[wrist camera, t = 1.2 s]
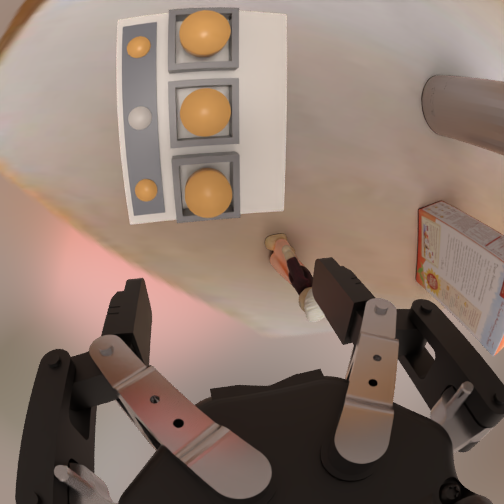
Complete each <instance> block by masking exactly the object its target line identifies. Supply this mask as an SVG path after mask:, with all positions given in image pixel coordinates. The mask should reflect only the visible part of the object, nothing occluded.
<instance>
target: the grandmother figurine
mask: <svg viewBox="0 0 504 504" xmlns="http://www.w3.org/2000/svg"><path fill="white" fill-rule="evenodd" d="M265 245H266V248H267V249H269V250H273V251H274V253H273V254H272V255H271V257H270V263H271V264H272V266H273V267H274V268H275V269H276V271H277V272H278V273H279V274H280V275H281V276H283V277H284V278H285V279H286V280H287V281H288V282H289V283H290V284H291V285H292V286H293V287H294V288H295V289H296V291H297V293H298V294H299V305H300V307H301V309H302V310H303V311H304V312H305V314H306V318H307V320H308V321H310V322H317V321H319V320H321V319H323V318H324V317H325V315H324V314H323V312H322V310H321V309H320V307H319V306H318V304H317V302H316V301H315V299H314V297H313V293H312V283H313V277H312V275H311V273H310V271H309V270H308V269H307V268H306V267H305V266H304V265H303V264H302V263H301V262H300V261H299V260H298V259H297V257H296V255H295V250H294V249H293V247H291V246H290V245H289V243H288V242H287V238H286V235H285V234H276V235H271V236H269V237H267V238H266V240H265Z"/></svg>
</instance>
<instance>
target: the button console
mask: <svg viewBox="0 0 504 504" xmlns="http://www.w3.org/2000/svg"><path fill="white" fill-rule="evenodd" d="M202 10H210V11H215V12H217V13H219V14H221V15H223V16H224V17H225V18H226V19H227V21H228V22H229V25H230V29H231V32H230V37H229V39H228V41H227V43H226V44H225V46H224V47H223V49H222V50H221V51H219V52H218V53H217V54H215V55H213V56H209V57H195V56H192V55H190V54H189V53H187V52H186V51H185V50H184V49H183V47H182V46H181V43H180V36H179V31H180V26H181V24H182V22H183V21H184V20H185V19H186V18H187V17H188V16H189V15H191V14H193V13H195V12H198V11H202ZM116 83H117V111H118V127H119V140H120V151H121V161H122V170H123V178H124V186H125V194H126V201H127V207H128V214H129V220H130V225H132V224H141V223H150V222H159V221H169V220H177V223H184V222H194V221H205V220H216V219H228V218H240V214H247V213H261V212H275V211H284V192H285V162H286V120H287V14H279V13H268V12H255V11H239V8H188V9H174V10H169V13H161V14H153V15H145V16H138V17H132V18H126V19H121V20H118V24H117V51H116ZM202 88H210V89H215V90H217V91H219V92H221V93H222V94H223V95H224V96H225V97H226V98H227V100H228V101H229V104H230V108H231V115H230V119H229V122H228V124H227V125H226V126H225V128H224V129H223V130H222V131H220V132H219V133H217V134H215V135H212V136H207V137H202V136H197V135H194V134H192V133H190V132H189V131H188V130H187V129H186V128H185V127H184V125H183V124H182V121H181V118H180V109H181V105H182V103H183V101H184V99H185V98H186V97H187V96H188V95H189V94H190V93H192V92H193V91H195V90H198V89H202ZM202 168H213V169H216V170H218V171H220V172H221V173H223V174H224V175H225V177H226V178H227V180H228V182H229V184H230V186H231V189H232V200H231V203H230V205H229V207H228V208H227V209H226V210H225V211H224V212H223V213H222V214H220V215H218V216H216V217H212V218H203V217H200V216H197V215H195V214H194V213H193V212H191V211H190V209H189V208H188V206H187V204H186V201H185V185H186V182H187V180H188V178H189V177H190V175H191V174H192V173H194V172H195V171H197V170H199V169H202Z"/></svg>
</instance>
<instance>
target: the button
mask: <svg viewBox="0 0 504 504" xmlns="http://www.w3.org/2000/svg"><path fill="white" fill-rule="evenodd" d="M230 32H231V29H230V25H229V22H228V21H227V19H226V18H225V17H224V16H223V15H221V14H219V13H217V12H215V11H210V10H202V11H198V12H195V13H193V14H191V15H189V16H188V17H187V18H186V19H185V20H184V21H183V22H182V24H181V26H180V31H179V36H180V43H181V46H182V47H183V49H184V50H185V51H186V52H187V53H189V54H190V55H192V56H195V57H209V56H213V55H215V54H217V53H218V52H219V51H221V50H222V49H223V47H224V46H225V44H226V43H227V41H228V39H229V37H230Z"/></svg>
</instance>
